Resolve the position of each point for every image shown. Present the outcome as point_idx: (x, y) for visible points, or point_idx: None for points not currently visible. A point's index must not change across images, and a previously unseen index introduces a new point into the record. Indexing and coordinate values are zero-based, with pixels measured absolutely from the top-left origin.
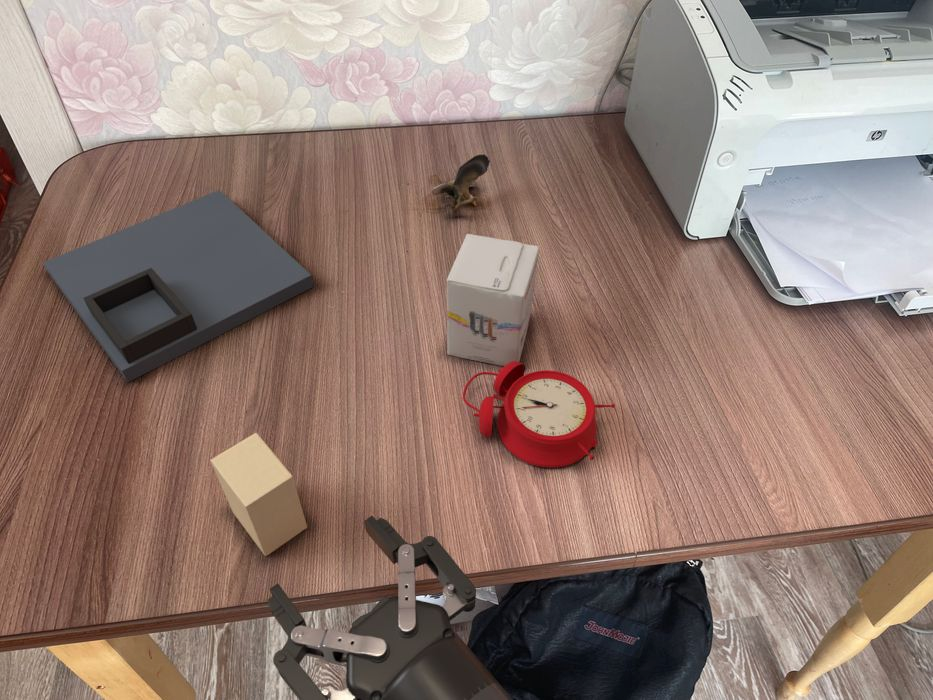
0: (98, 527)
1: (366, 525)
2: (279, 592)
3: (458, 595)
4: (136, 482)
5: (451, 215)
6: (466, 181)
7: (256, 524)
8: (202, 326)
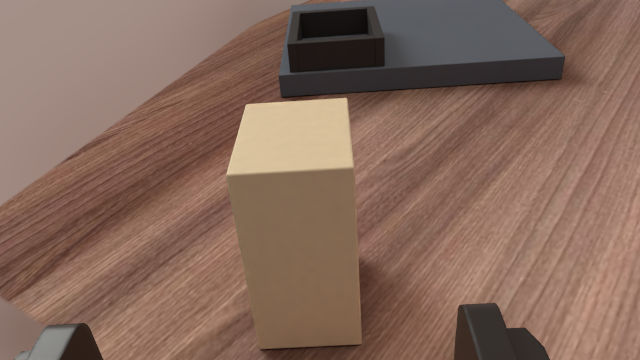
0: (121, 200)
1: (459, 329)
2: (52, 347)
3: None
4: (200, 176)
5: None
6: None
7: (247, 247)
8: (392, 65)
